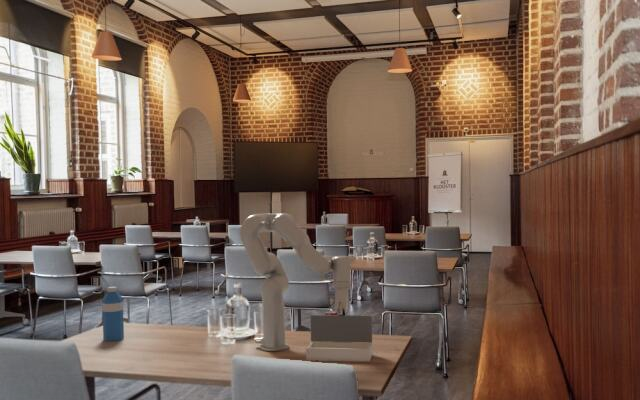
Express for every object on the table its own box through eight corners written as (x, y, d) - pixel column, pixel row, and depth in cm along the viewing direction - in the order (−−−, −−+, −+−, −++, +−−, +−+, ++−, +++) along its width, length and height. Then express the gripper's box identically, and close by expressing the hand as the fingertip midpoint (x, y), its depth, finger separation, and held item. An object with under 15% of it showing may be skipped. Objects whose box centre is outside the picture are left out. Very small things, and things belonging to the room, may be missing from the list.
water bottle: (103, 337, 305) (102, 286, 304) (123, 336, 308) (122, 285, 307) (103, 342, 296) (101, 289, 296) (123, 340, 299) (122, 288, 298)
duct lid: (310, 315, 267) (311, 315, 268) (311, 341, 267) (311, 340, 268) (371, 316, 263) (371, 315, 264) (372, 342, 263) (372, 342, 264)
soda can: (337, 339, 291) (336, 313, 291) (322, 338, 293) (321, 313, 293) (339, 335, 298) (339, 310, 298) (325, 335, 300) (324, 310, 300)
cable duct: (306, 360, 256) (306, 348, 256) (311, 353, 267) (311, 341, 267) (369, 361, 252) (369, 349, 252) (372, 354, 263) (372, 342, 263)
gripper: (335, 282, 278) (336, 323, 279) (330, 287, 264) (331, 330, 264) (352, 282, 277) (353, 323, 277) (348, 287, 262) (349, 331, 263)
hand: (343, 327), depth 271 cm, fingers closed
